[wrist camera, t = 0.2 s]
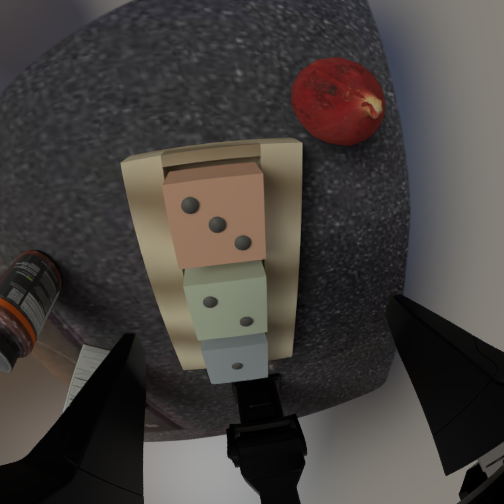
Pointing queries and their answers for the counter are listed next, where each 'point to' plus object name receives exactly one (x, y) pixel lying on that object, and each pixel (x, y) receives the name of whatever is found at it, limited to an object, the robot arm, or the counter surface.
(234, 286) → the tile two pip
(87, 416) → the robot arm
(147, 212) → the tile tray
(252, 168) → the tile three pip
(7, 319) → the supplement bottle
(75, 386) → the syrup box
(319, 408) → the counter surface
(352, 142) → the onion
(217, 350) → the single dot cube
